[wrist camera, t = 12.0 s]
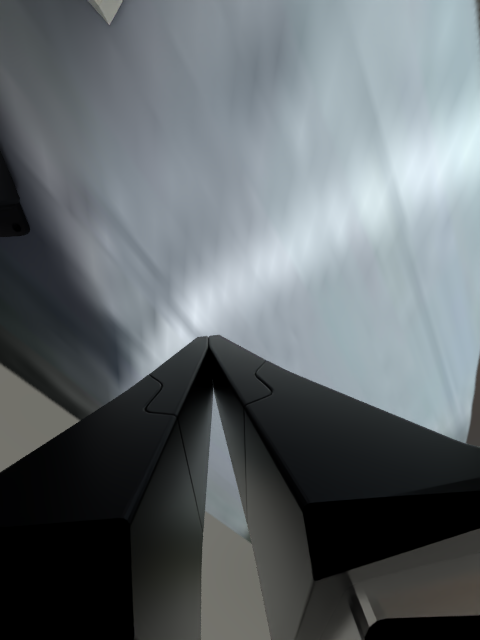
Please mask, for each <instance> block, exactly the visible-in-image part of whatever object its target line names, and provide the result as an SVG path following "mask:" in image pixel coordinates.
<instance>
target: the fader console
mask: <svg viewBox="0 0 480 640" xmlns="http://www.w3.org/2000/svg"><path fill="white" fill-rule="evenodd" d="M87 1H88V2H89V3H90V4H91V5H92V6H93V7H94V8H95V10H96V11H97V12H98V13H99V14H100V15H101V16H102V17H103V19H104V20H105V21H106V22H107V23H108V24H109V25H110V24H111V22H112V20H113V18H114V16H115V14H116V13H117V11H118V9H119V7H120V5H121V3H122V2H123V0H87Z"/></svg>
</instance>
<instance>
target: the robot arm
mask: <svg viewBox="0 0 480 640" xmlns="http://www.w3.org/2000/svg"><path fill="white" fill-rule="evenodd" d="M19 200H20V197H19V195H18V193H17V190H16V188H15V185H14V183H13V181H12V178H11V176H10V173H9V171H8V168H7V166H6V164H5V161H4V159H3V156H2V154H1V152H0V237H10V236H22V235H26V234H28V233H29V231H30V227H29V224H28V222H27V220H26V217H25V215H24V213H23V210H22V208H21V205H20V203H19ZM16 224H19V225H20V226H21V229H22V230H21V231H20V230H18V229H17V227H16ZM213 388H214V394H215V398H216V402H217V406H218V410H219V414H220V418H221V422H222V426H223V430H224V434H225V438H226V442H227V446H228V450H229V454H230V458H231V462H232V466H233V470H234V474H235V478H236V482H237V486H238V490H239V494H240V498H241V502H242V506H243V510H244V514H245V518H246V522H247V524H248V530H249V534H250V538H251V542H252V547H253V551H254V556H255V561H256V565H257V571H258V576H259V581H260V586H261V591H262V596H263V601H264V606H265V611H266V616H267V621H268V626H269V631H270V636H271V640H480V447H477V446H473V445H469V444H465V443H462V442H460V441H457V440H454V439H452V438H449V437H447V436H444V435H442V434H439V433H437V432H435V431H432V430H430V429H427V428H425V427H422V426H420V425H418V424H415V423H413V422H410V421H408V420H405V419H403V418H401V417H398V416H396V415H393V414H391V413H388V412H386V411H384V410H381V409H379V408H376V407H374V406H371V405H369V404H367V403H364V402H362V401H359V400H357V399H354V398H352V397H350V396H347V395H345V394H342V393H340V392H337V391H335V390H333V389H330V388H328V387H325V386H323V385H320V384H318V383H316V382H313V381H311V380H308V379H306V378H303V377H301V376H299V375H296V374H294V373H292V372H289V371H287V370H285V369H283V368H281V367H279V366H277V365H275V364H273V363H271V362H269V361H267V360H265V359H263V358H261V357H259V356H257V355H256V354H254V353H252V352H250V351H248V350H246V349H244V348H243V347H241V346H239V345H237V344H235V343H233V342H232V341H230V340H228V339H226V338H224V337H222V336H220V335H213V336H209V338H208V337H207V336H203V337H197V338H196V339H194V340H193V341H192V342H191V343H189V344H188V345H187V346H185V347H184V348H183V349H181V350H180V351H179V352H178V353H176V354H175V355H174V356H172V357H171V358H170V359H169V360H167V361H166V362H165V363H163V364H162V365H161V366H159V367H158V368H157V369H156V370H154V371H153V372H152V373H150V374H149V375H147V376H146V377H145V378H143V379H142V380H141V381H139V382H138V383H137V384H135V385H134V386H132V387H131V388H130V389H128V390H127V391H125V392H124V393H122V394H121V395H119V396H118V397H116V398H115V399H113V400H112V401H110V402H109V403H107V404H106V405H104V406H103V407H101V408H100V409H98V410H96V411H95V412H93V413H92V414H90V415H89V416H87V417H86V418H84V419H82V420H81V421H79V422H78V423H76V424H75V425H73V426H72V427H70V428H69V429H67V430H65V431H64V432H62V433H61V434H59V435H58V436H56V437H55V438H53V439H51V440H50V441H48V442H47V443H46V444H44V445H42V446H41V447H39V448H37V449H36V450H34V451H33V452H31V453H30V454H28V455H26V456H25V457H23V458H22V459H20V460H19V461H17V462H16V463H14V464H12V465H11V466H9V467H8V468H6V469H5V470H3V471H2V472H0V640H201V565H202V563H201V562H202V542H203V528H204V513H205V500H206V487H207V473H208V459H209V445H210V431H211V418H212V404H213Z"/></svg>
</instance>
